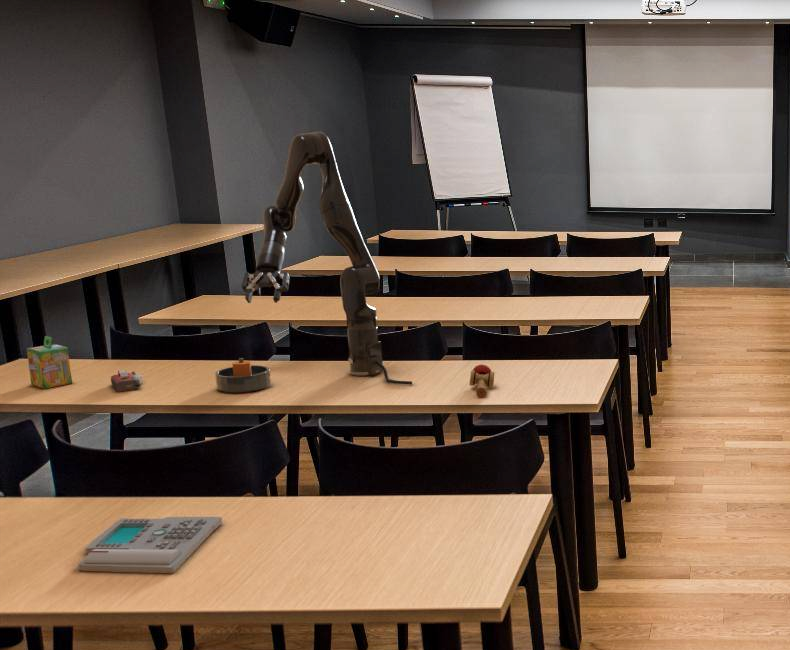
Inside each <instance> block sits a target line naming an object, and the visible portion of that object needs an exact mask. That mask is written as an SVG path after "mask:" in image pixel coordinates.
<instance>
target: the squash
mask: <svg viewBox="0 0 790 650" xmlns="http://www.w3.org/2000/svg"><path fill="white" fill-rule="evenodd" d="M251 365H252V363H251V360H244V358H243V357H239V358H238V360H236V361H233V362H232V363H231V366H232V367H233V375H234V377H239V376H249V375H252V373H251Z"/></svg>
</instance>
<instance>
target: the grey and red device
mask: <svg viewBox="0 0 790 650" xmlns="http://www.w3.org/2000/svg"><path fill="white" fill-rule="evenodd" d="M110 383H111V385H112V387H113V389H114V390H115V391H116V392H118V393H119V392H120V393H121V392H129V391H137V390H139V389H140V387H141V384H142V383H143V376H142V374H141V373H138V374H137V373H136V372H135V371H133V370H132V371H131V372H128V371H127V370H126V369H123V370H117V374H113V375H112V376H110Z"/></svg>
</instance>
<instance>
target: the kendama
mask: <svg viewBox="0 0 790 650" xmlns="http://www.w3.org/2000/svg"><path fill="white" fill-rule="evenodd" d="M495 374H496V373H495V371H492V369H491V368H490V367H489V366H488V365H486V364H478V365H475V366H474V368H473V369H472V370H471V371H470V377H469V386H471V387H474V386H475V385H477V386H476V390H475V394H476V396H477V397H478V398H485V397H486V396H487V391H488V390H487V388H488V389H493V388H494V384H495V383H494V382H495Z"/></svg>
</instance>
